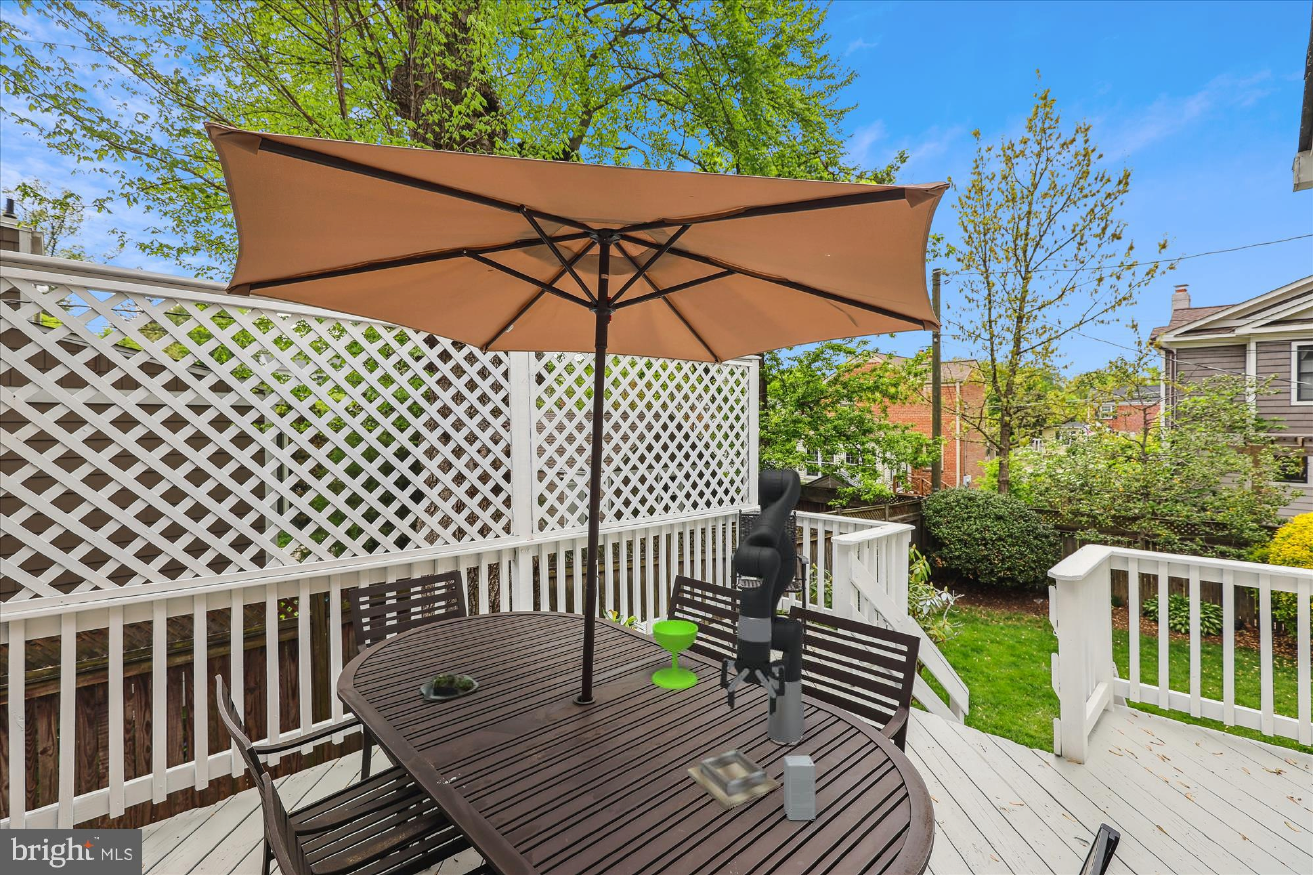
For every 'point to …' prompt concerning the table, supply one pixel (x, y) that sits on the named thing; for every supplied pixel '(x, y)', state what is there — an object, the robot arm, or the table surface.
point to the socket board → (732, 778)
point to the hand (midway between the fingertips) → (751, 711)
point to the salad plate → (448, 688)
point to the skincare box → (799, 787)
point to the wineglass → (675, 652)
